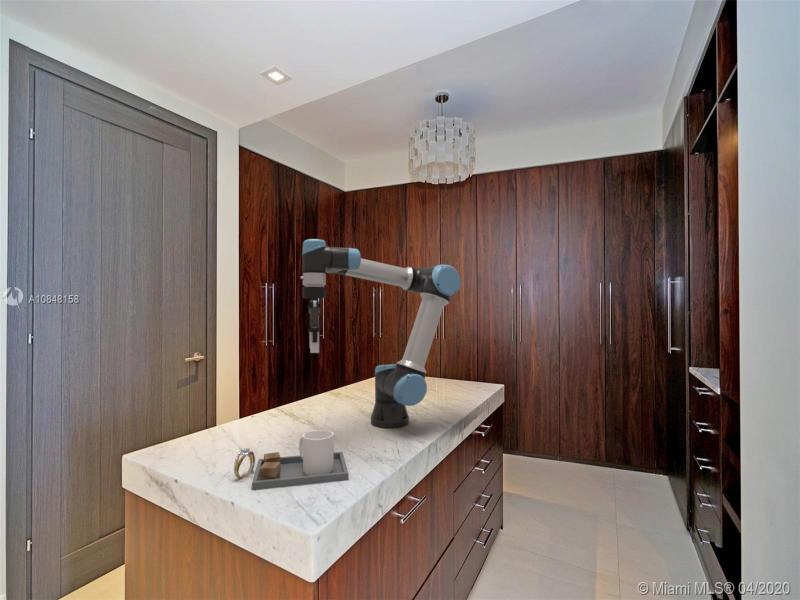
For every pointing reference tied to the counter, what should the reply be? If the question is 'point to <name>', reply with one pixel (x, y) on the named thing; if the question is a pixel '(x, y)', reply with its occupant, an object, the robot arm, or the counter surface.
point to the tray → (299, 473)
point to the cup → (317, 452)
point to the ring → (237, 464)
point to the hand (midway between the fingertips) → (314, 350)
